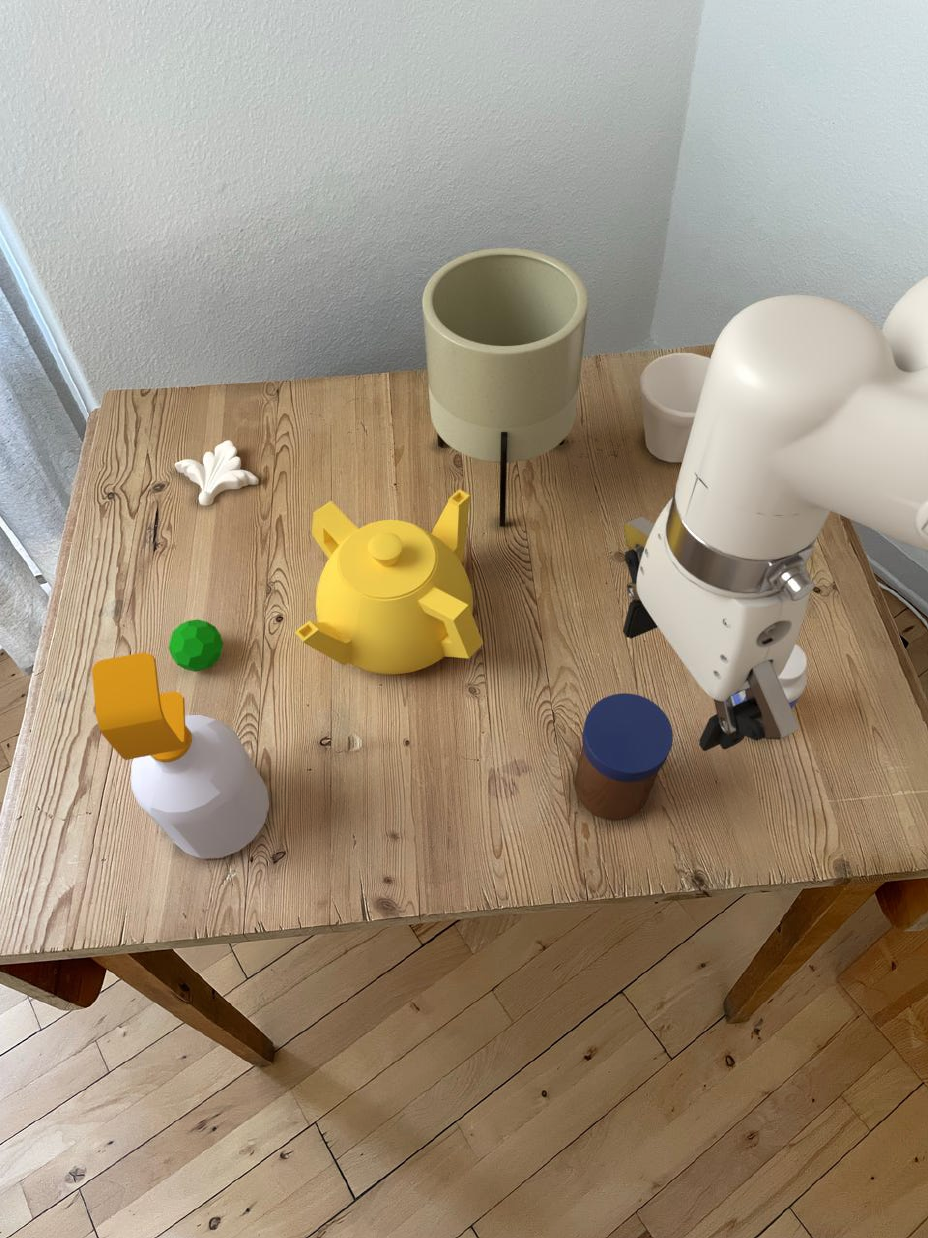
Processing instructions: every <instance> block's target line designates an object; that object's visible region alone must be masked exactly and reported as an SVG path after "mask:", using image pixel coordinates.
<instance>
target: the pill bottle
mask: <svg viewBox="0 0 928 1238" xmlns="http://www.w3.org/2000/svg"><path fill="white" fill-rule="evenodd" d="M807 667H808V658H807V655H806V653H805V652H804V649H802V647H800V645H798V644H797V643H795V646H794V648H793V651H792V653H791V655H790V657H789V659H788V661H787V663H786V665H785V667H784V669H783V671H782V673H781V674H780V675H779V676H778V679H779V682H780V684H781V686H782V688H783V691H784V693H785V695H786V698H787V700H788V702H789V704H790V707H791V709H792V710H794V707H795V706H796V704H797V703H798V701H799V699H800V697H801V696H802V694H803V693H804V690H805V689H806V686H807V683H808V677H807V671H806V670H807ZM730 697H731V699H732V704H733V706H735V705H737V704H739V703H741V702H743V701H747V698H746V694H745V690H744V691H741V692H739V693H737V694H735V695H733V696H730Z"/></svg>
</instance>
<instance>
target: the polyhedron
mask: <svg viewBox="0 0 928 1238" xmlns="http://www.w3.org/2000/svg"><path fill="white" fill-rule="evenodd" d="M223 646H224V640H223V637H222V635H221V633H220V631H219V630H218V628H217V627H216V626H215V625H213V624H212V623H210V622H208V621H205V620H202V619H191V620H186V621H185V622H182V623H180V624H178V626H177V627H176V628H175V629H174V630H172V633H171V637H170V640H169V645H168V651H169V654H170V655H171V658H172V660H173V661H174V662H175V664H176V665H177V666H178V667H180V668H182V669H184V670H186V671H190V672H193V673H195V672H201V671H204V670H208V669H211V668H212V667H213V666H214V665H215V664H216V663H218V661H219V660H220V659H221V656H222V653H223Z"/></svg>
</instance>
